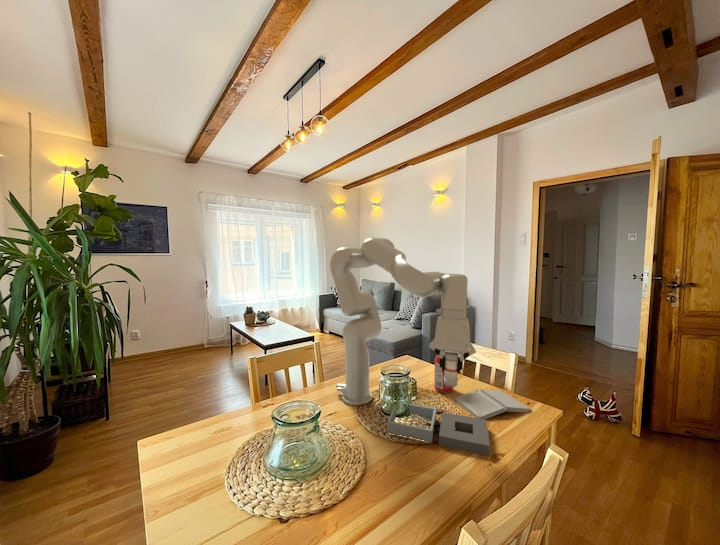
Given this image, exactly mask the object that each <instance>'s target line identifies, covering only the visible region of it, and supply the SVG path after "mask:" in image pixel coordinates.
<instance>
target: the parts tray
mask: <svg viewBox="0 0 720 545" xmlns="http://www.w3.org/2000/svg"><path fill="white" fill-rule="evenodd" d="M396 409H397V407H394V406H393V409H392V410H391V413H390V415H389V417H388V419H387V422H386V434H387V433H391V434H396V435H402V436H406V437H412V438H416V439H420V440H424V441H426V442H428V443H427V444H433V441H432V439H434V435H433V433H434V434H435V429H434V425H435V426H436V423H437V408H436V407H430V406H426V405H419V404H414V403H409V411H410V413H412V414H417V415H420V416H423V417H425V419H427V420H429V421H431V426H430V429H427V428H422V427H417V426H412V425H407V424H401V423H396V422H394V420H395V418H396ZM435 422H436V423H435ZM426 442H425V443H426Z"/></svg>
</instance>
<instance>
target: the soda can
mask: <svg viewBox="0 0 720 545" xmlns="http://www.w3.org/2000/svg"><path fill="white" fill-rule="evenodd" d="M444 357H445V352H444ZM433 380H434V381H433V382H434V389H435V390H436V391H438V392H440V393H443V394H447V393H448V394H449V393H451V392H453V391H454V387H450V386H447V385H445V384H444V371H442V368H441V367H440V358H439V356H438V355H437V354H436V356H435V357H434V379H433Z"/></svg>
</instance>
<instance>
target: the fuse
mask: <svg viewBox="0 0 720 545" xmlns="http://www.w3.org/2000/svg"><path fill="white" fill-rule="evenodd" d="M444 353H445V366H444V384H445V385H447V386H450V387H455V388H456V387H458V380H459V378H458V375H459V374H458V360H459V352H452V351H444Z"/></svg>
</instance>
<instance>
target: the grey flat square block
mask: <svg viewBox="0 0 720 545" xmlns="http://www.w3.org/2000/svg"><path fill="white" fill-rule="evenodd" d="M455 428H456V430H455ZM488 429H489V428H488V422H487V419H485V420H484V419H478V418H475V417H474V416H466V415H461V414H457V413H456V414H455V413H451V412H450V413H449V412H445V411H444V412H442V413H441V420H440V426H439V432H438V446H441V447H445V448H450V449H454V450H460V451H464V452H468V453H473V454H478V455H481V456H488V457H490V453H491V452H490V450H491V449H490V447H491V445H490V437H489V430H488Z"/></svg>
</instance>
